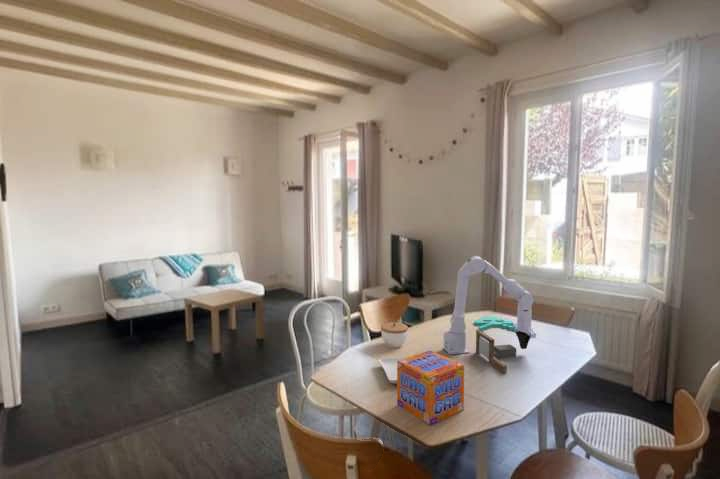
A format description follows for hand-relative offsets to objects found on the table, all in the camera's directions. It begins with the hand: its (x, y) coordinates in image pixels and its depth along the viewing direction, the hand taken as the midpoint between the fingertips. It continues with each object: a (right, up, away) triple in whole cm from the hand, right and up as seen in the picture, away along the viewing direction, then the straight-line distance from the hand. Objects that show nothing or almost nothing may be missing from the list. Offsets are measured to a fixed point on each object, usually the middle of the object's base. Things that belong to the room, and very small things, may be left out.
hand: (523, 348), depth 176 cm
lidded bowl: (-56, -2, +13) cm, 57 cm away
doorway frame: (-17, -4, -8) cm, 19 cm away
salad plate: (-53, -6, -19) cm, 56 cm away
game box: (-49, -8, -44) cm, 67 cm away
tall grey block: (-10, -3, -2) cm, 10 cm away
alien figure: (+1, +1, +41) cm, 41 cm away
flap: (-18, -2, -3) cm, 19 cm away
